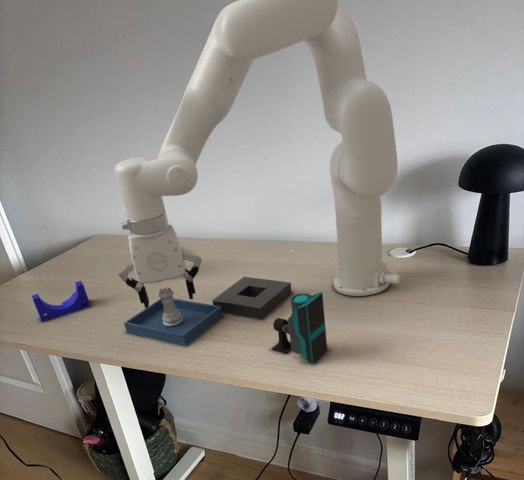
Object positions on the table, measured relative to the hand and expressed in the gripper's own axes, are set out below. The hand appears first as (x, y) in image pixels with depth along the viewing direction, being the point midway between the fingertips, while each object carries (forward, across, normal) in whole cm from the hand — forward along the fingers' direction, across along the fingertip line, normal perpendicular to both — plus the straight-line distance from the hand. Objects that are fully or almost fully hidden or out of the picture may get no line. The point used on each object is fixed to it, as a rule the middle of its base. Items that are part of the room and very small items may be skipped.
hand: (169, 301), depth 112 cm
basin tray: (+6, 0, 0) cm, 6 cm away
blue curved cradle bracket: (+6, -28, +19) cm, 34 cm away
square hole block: (+6, +18, +4) cm, 19 cm away
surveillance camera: (+6, +24, -21) cm, 32 cm away
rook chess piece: (+6, 0, 0) cm, 6 cm away
